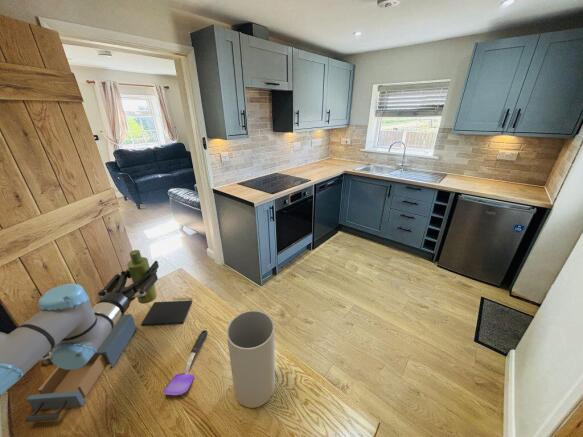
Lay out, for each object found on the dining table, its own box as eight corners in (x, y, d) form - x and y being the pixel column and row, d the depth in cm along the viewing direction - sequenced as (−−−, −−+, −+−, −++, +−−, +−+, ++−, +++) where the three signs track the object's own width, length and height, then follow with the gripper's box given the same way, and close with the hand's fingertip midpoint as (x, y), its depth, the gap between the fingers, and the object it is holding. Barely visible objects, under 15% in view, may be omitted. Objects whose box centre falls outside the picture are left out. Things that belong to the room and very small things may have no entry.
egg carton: (87, 339, 88) (83, 331, 86) (78, 357, 81) (74, 349, 79) (50, 348, 84) (46, 339, 82) (38, 367, 78) (33, 359, 76)
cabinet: (112, 367, 78) (105, 352, 75) (68, 370, 77) (59, 354, 74) (136, 328, 92) (131, 314, 89) (99, 330, 91) (93, 315, 88)
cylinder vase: (258, 359, 82) (255, 304, 72) (283, 387, 74) (283, 328, 64) (226, 385, 74) (218, 327, 64) (249, 419, 66) (244, 359, 55)
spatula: (197, 331, 92) (196, 326, 91) (214, 332, 92) (213, 327, 91) (163, 399, 70) (161, 393, 69) (185, 400, 70) (183, 395, 69)
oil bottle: (134, 304, 86) (119, 257, 78) (143, 292, 91) (129, 247, 83) (152, 303, 86) (139, 257, 78) (160, 291, 92) (148, 247, 84)
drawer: (71, 426, 63) (63, 413, 60) (20, 430, 62) (10, 418, 59) (113, 359, 80) (108, 347, 77) (74, 362, 79) (68, 350, 76)
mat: (141, 326, 93) (140, 324, 93) (154, 303, 104) (154, 302, 104) (183, 323, 95) (182, 322, 94) (192, 302, 106) (191, 300, 105)
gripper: (77, 322, 69) (123, 273, 90) (146, 319, 70) (175, 271, 91) (68, 302, 66) (117, 256, 87) (140, 299, 67) (172, 255, 88)
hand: (147, 264), depth 89 cm, fingers closed on oil bottle, 6 cm apart
